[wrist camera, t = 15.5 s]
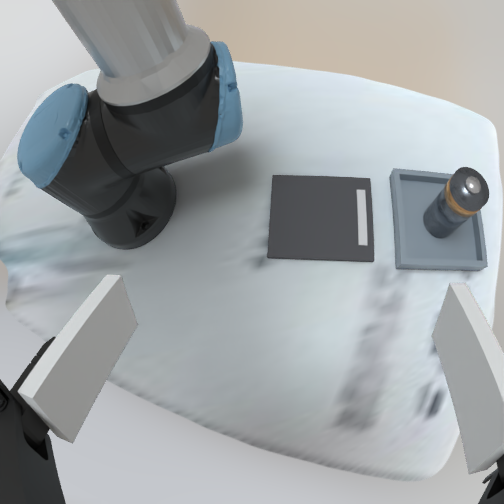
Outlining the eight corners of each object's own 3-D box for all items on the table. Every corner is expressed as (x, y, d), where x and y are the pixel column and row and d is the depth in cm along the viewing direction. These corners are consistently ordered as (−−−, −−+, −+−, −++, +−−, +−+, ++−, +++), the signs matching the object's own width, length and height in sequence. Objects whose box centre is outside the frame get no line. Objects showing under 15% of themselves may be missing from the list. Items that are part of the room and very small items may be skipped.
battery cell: (424, 238, 39) (459, 203, 28) (421, 203, 40) (451, 161, 29) (455, 239, 38) (495, 207, 27) (451, 206, 39) (486, 167, 28)
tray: (395, 268, 39) (401, 263, 37) (389, 176, 43) (393, 168, 40) (479, 270, 37) (487, 266, 35) (467, 184, 41) (473, 177, 38)
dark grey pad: (267, 257, 43) (267, 256, 42) (273, 177, 46) (272, 174, 45) (373, 261, 40) (374, 260, 39) (369, 180, 43) (370, 177, 42)
